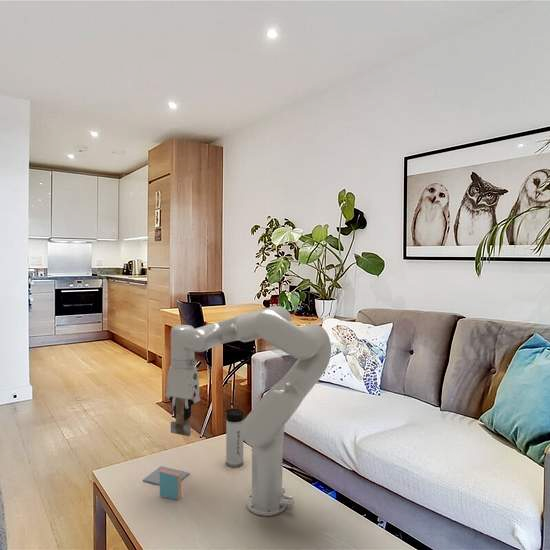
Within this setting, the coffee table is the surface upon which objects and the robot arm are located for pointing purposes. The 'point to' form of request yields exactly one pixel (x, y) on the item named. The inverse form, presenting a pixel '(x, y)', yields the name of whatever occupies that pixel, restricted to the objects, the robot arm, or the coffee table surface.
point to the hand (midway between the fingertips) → (182, 417)
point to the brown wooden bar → (180, 420)
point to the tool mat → (155, 476)
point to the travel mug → (234, 438)
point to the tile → (170, 484)
